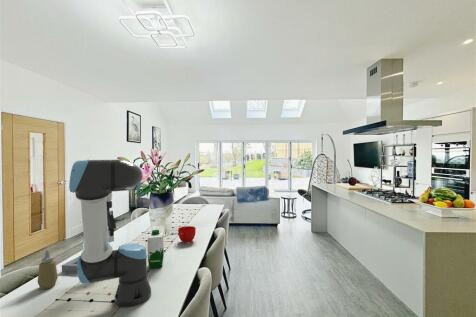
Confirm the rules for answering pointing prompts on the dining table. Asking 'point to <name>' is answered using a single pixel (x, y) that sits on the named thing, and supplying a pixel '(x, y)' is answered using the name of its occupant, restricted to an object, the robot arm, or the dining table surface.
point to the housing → (70, 266)
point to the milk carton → (155, 249)
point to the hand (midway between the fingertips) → (105, 239)
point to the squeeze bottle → (47, 272)
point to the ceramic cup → (186, 233)
